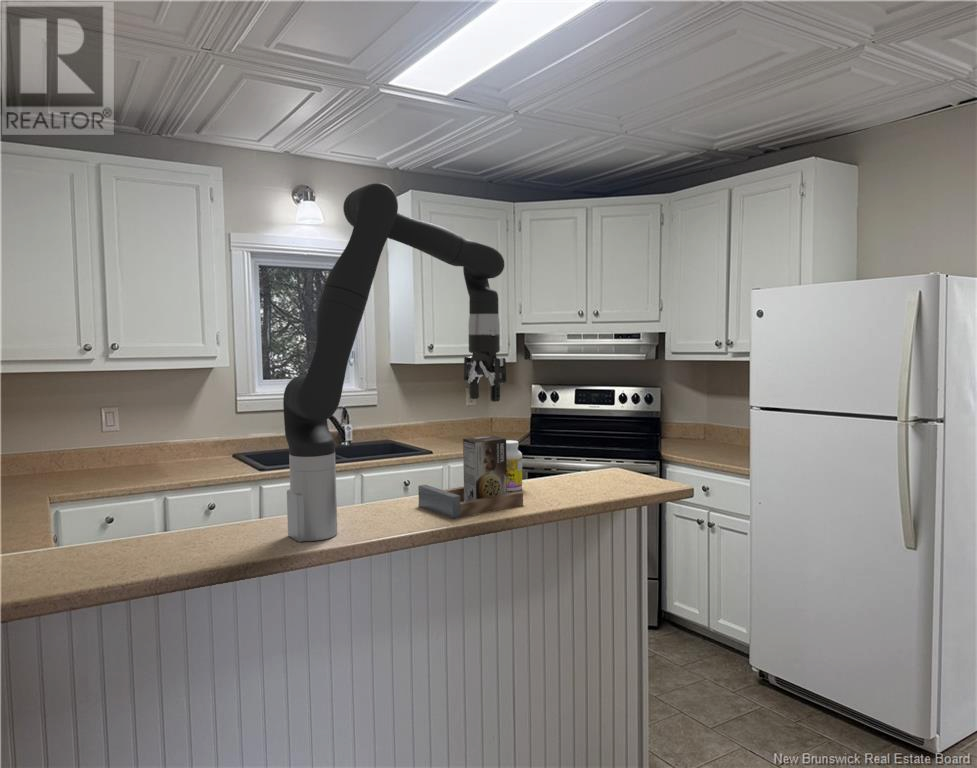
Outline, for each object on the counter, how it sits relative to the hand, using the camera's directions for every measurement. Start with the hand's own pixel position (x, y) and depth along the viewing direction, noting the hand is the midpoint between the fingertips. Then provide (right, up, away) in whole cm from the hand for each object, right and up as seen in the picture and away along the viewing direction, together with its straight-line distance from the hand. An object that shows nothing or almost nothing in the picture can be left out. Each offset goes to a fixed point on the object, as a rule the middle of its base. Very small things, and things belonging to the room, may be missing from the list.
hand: (484, 400), depth 166 cm
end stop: (-11, -26, -6) cm, 29 cm away
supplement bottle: (+7, -24, +17) cm, 30 cm away
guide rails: (-2, -26, 0) cm, 26 cm away
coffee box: (0, -26, +2) cm, 26 cm away
